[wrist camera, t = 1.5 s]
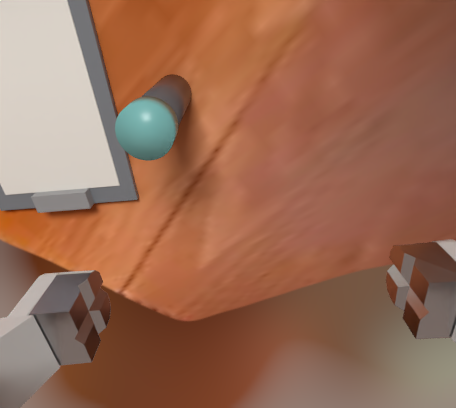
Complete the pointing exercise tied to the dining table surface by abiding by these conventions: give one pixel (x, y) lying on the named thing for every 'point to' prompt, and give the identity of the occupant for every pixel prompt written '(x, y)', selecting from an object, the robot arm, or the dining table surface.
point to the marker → (153, 119)
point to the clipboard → (57, 111)
